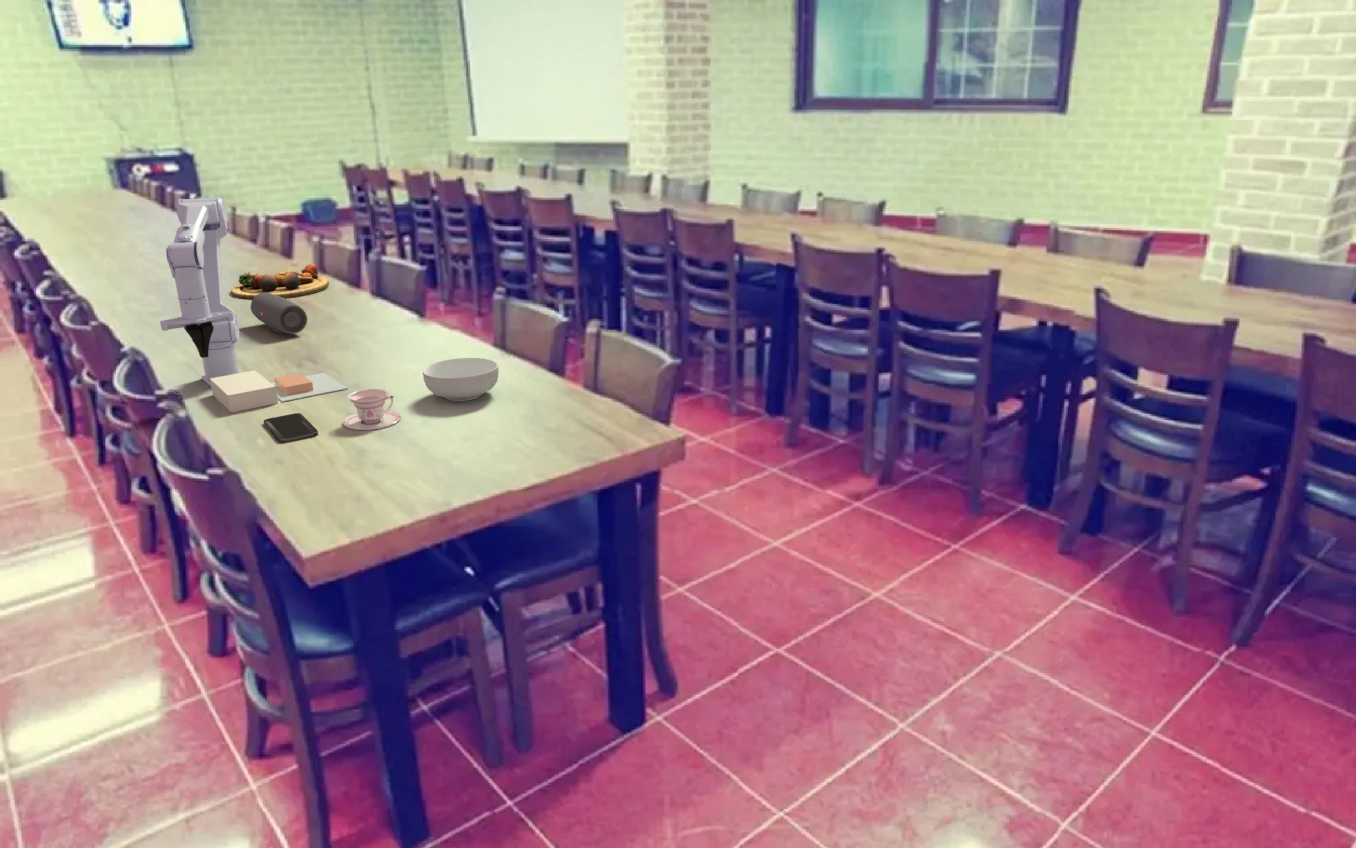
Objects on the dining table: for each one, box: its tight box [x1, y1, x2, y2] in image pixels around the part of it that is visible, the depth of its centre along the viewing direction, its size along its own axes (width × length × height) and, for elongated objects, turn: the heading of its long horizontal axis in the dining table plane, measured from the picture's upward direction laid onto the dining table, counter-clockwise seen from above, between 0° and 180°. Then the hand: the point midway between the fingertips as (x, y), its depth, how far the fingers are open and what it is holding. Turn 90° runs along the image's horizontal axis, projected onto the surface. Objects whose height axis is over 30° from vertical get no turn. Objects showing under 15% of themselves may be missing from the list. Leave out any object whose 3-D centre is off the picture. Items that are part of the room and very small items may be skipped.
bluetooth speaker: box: [250, 293, 308, 335], centre depth 272 cm, size 23×9×10 cm, turn 42°
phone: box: [263, 412, 319, 444], centre depth 196 cm, size 8×1×15 cm
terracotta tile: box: [273, 373, 313, 395], centre depth 220 cm, size 9×6×2 cm, turn 39°
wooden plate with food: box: [230, 263, 330, 300], centre depth 326 cm, size 32×32×8 cm
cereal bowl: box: [422, 357, 499, 402], centre depth 214 cm, size 17×17×7 cm
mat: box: [271, 372, 349, 403], centre depth 222 cm, size 16×15×1 cm
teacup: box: [342, 388, 402, 431], centre depth 199 cm, size 12×12×6 cm
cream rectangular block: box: [210, 370, 279, 413], centre depth 214 cm, size 16×10×4 cm, turn 38°
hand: (204, 356), depth 210 cm, fingers closed
